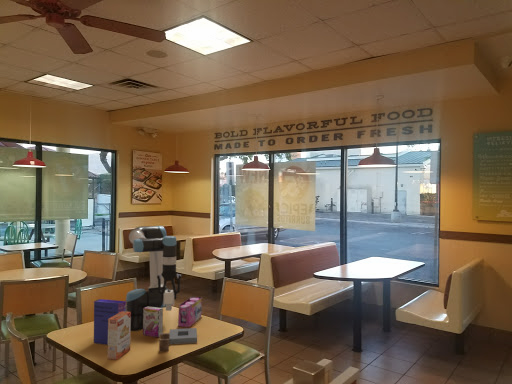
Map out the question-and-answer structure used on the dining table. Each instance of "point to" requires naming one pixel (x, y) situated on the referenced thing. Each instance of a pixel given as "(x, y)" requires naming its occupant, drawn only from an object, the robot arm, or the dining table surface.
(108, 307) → the cereal box
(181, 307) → the gum box
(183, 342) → the port block
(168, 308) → the plug
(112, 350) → the cracker box
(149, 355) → the dining table surface
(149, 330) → the candy bar box
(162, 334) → the holster
